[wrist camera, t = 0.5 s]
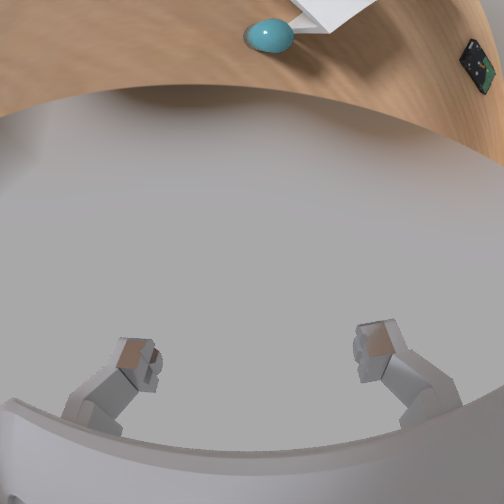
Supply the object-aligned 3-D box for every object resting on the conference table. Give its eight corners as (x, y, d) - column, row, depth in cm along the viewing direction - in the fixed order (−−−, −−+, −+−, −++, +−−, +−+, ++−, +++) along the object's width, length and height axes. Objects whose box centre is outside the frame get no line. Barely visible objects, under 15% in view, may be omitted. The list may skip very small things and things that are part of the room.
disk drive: (457, 60, 39) (479, 92, 45) (464, 63, 37) (486, 95, 43) (468, 37, 33) (490, 70, 39) (476, 39, 31) (497, 73, 37)
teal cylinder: (236, 37, 37) (246, 35, 28) (258, 18, 34) (274, 12, 26) (259, 55, 40) (275, 59, 31) (280, 37, 37) (301, 36, 29)
